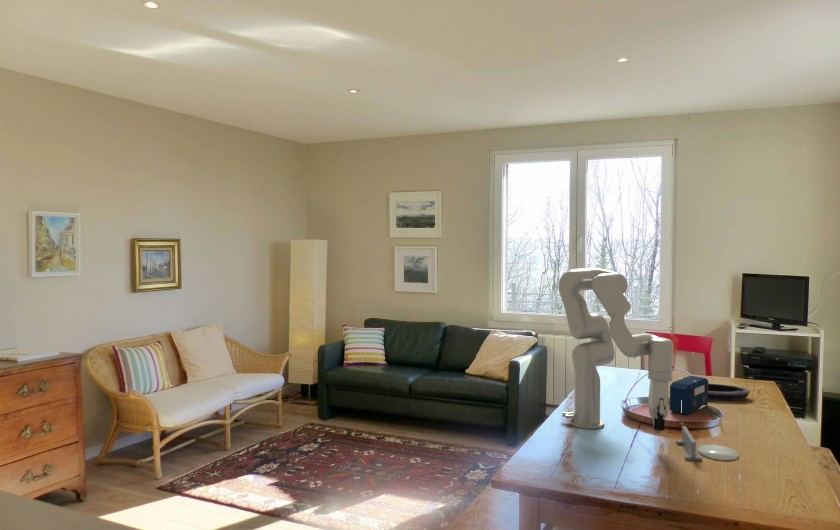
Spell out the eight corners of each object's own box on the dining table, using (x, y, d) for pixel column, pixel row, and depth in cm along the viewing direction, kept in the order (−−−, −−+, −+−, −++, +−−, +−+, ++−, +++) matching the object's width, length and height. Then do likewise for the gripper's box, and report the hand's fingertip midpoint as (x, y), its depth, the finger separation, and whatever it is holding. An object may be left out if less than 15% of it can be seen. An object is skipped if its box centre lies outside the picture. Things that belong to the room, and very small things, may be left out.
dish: (753, 404, 251) (754, 393, 251) (675, 399, 260) (675, 388, 260) (745, 394, 266) (745, 383, 266) (671, 390, 275) (671, 379, 275)
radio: (688, 417, 235) (689, 367, 233) (667, 412, 241) (668, 364, 240) (711, 406, 248) (712, 359, 247) (690, 402, 255) (691, 356, 254)
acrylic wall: (685, 459, 191) (685, 441, 191) (676, 442, 207) (676, 425, 207) (701, 461, 190) (702, 442, 190) (691, 443, 206) (691, 426, 205)
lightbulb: (668, 437, 198) (670, 405, 197) (649, 436, 199) (651, 404, 198) (665, 430, 204) (666, 399, 203) (646, 429, 205) (647, 398, 204)
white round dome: (702, 458, 192) (702, 456, 192) (694, 445, 204) (694, 443, 204) (742, 461, 189) (742, 459, 189) (732, 448, 201) (732, 446, 201)
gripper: (644, 367, 209) (642, 417, 210) (651, 380, 192) (649, 435, 194) (667, 369, 207) (665, 419, 208) (676, 382, 190) (674, 437, 192)
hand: (657, 426), depth 201 cm, fingers closed on lightbulb, 4 cm apart
